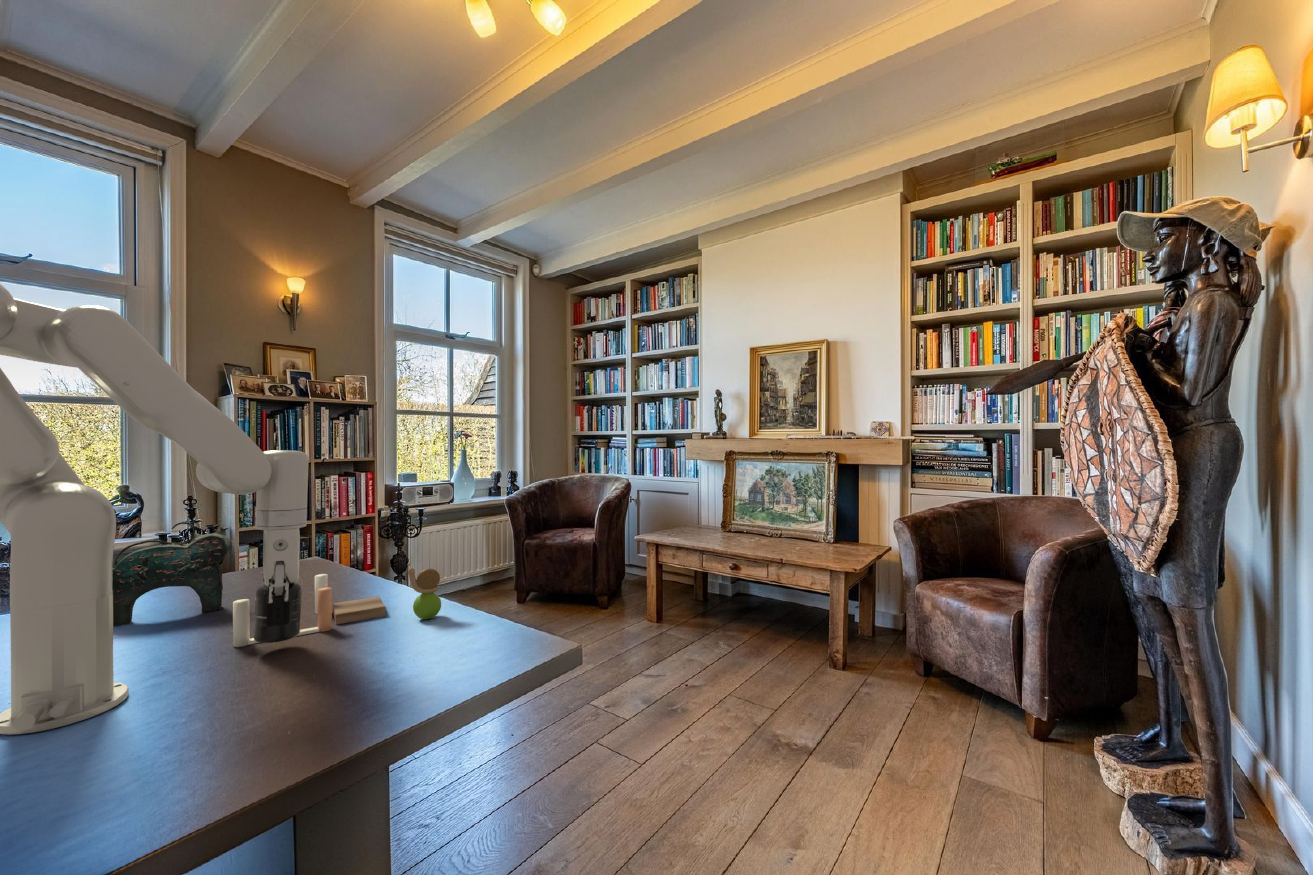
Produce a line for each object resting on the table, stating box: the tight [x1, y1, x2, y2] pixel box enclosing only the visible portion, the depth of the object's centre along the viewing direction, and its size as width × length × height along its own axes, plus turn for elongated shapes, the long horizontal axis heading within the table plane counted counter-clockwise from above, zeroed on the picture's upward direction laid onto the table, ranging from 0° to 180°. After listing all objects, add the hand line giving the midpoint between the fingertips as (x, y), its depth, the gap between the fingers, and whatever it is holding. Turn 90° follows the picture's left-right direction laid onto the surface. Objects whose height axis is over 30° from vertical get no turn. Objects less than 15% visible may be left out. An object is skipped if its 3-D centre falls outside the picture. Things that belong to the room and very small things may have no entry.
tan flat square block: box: [332, 596, 386, 625], centre depth 114 cm, size 9×9×2 cm
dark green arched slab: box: [112, 521, 232, 628], centre depth 114 cm, size 20×6×20 cm, turn 126°
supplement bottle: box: [253, 567, 303, 644], centre depth 95 cm, size 7×7×12 cm
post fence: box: [232, 573, 333, 648], centre depth 107 cm, size 15×15×8 cm
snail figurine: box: [407, 562, 442, 620], centre depth 111 cm, size 5×6×12 cm
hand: (278, 618), depth 95 cm, fingers closed on supplement bottle, 6 cm apart
